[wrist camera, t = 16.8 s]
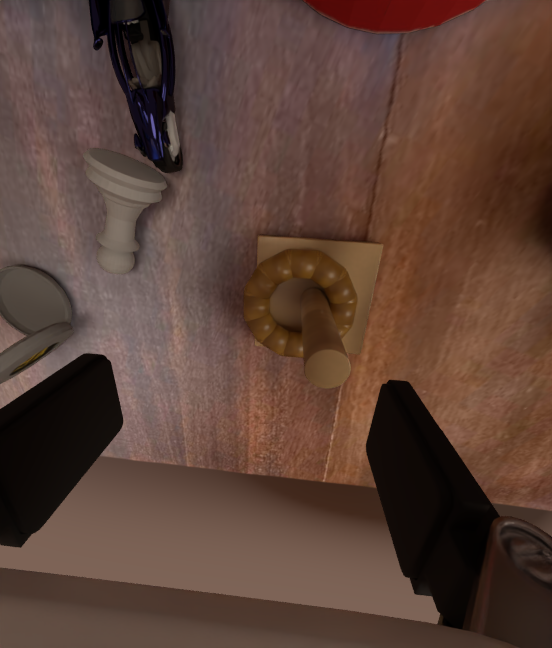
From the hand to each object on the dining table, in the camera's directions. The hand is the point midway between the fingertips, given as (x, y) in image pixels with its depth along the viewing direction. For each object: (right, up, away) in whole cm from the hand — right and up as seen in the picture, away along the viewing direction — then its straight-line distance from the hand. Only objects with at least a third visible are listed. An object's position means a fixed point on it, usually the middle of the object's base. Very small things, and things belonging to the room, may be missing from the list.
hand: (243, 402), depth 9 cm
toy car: (-6, +19, +8) cm, 21 cm away
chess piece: (-8, +13, +7) cm, 17 cm away
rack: (+4, +5, +13) cm, 14 cm away
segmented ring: (+3, +4, +11) cm, 12 cm away
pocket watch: (-20, +4, +15) cm, 25 cm away
